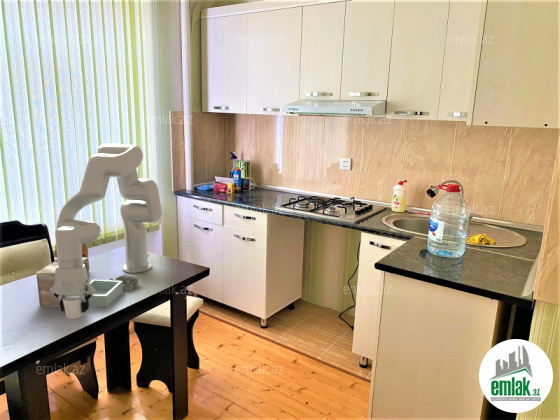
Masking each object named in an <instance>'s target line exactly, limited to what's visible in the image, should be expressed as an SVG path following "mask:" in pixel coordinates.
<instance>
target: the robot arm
mask: <svg viewBox="0 0 560 420" xmlns="http://www.w3.org/2000/svg"><path fill="white" fill-rule="evenodd" d="M143 155H144V154H143V150H142V148H140V147H139V146H138V145H135V144H121V143H103V144H101V145H100V146H98V148H97V154H93V155H91V156H90V157H89V158H88V162H87V164H86V168H85V172H84V174H83V175H84V176H83V179H82V182H81V185H80V189H79V190H78V192H77V193H76V194H74V195H73V196H71V198H69V200H68V201H67V202H66V203H65V204H64V205H63V206H62V209H61V210H60V212H59V216H58V219H57V223H56V228H55V232H54V237H55V244H56V249H57V258H54V261H53V262H57V263H58V266H57V267H56V270H55V285H54V286H53V287H51V288H50V291H51V292H52V293H53V294H54V296H55V297H57V298H58V301H60V307H59V308H60V311H61V312H62V313H63V312H65V308H64V303H63V297H64V296H80V298H81V299H82V302H81V307H82V313H84V314H85V313H86V312H87V311H88V310H89V308H90V307H89V301H88V299H89V298H90V297H91V296H92V295H93V294H94V293H95V292H96V289H95V288H93V287H92V286H91V285H90V284H89V280H88V274H87V270H86V267H85V265H84V264H83V259H82V247H81V246H82V244H86V245H87V244H90V243H93V242H95V241H97V239H99V238H100V236H101V232H102V231H101V227H100V225H99V224H98V223H96V222H94V221H91V220H79V219H75V218H76V216H77V215H78V213H79V212H80V211H81V210H82V209H83V208H85V207H87V206H89V205H92V204H94V203H96V202H99V201H101V200H103V199H104V198H105V196H106V193H107V190H108V185H109V182H110V178H116V180H117V185H118V190H119V193H120V196H121V197H122V199H124V200H126V201H123V203H122V204H121V206H120V216H121V220H122V223H123V225H122V226H123V233H124V236H123V237H124V253H125V264H124V265H123V266H122V270H123V272H125V273H130V274H131V273H133V274H137V273H144V272H147V271H149V270H151V269H152V267H153V265H152V263H151V262H149V257H150V255H149V253H148V251H149V249H148V237H147V236H148V233H147V231H148V230H147V228H146V226H145V223H147V224H155V223H158V222H159V221H160V220H161V218H162V212H163V210H162V205H161V203H162V202H161V198H160V192H159V187H158V184H157V183H156V182H155V180H153V179H151V178H140V177H139V175H138V170H137V168H138V167H140V166H141V164H142V162H143V159H144V156H143ZM88 290H89V291H90V293H89V294H88V293H87V291H88ZM83 294H84V295H83Z"/></svg>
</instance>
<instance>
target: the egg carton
mask: <svg viewBox="0 0 560 420" xmlns="http://www.w3.org/2000/svg"><path fill="white" fill-rule="evenodd" d="M108 280H114V281H123V290H124V292H128V291H129V292H130V291H133V289H134V288H138V287H139V280H140V277H134V276H129V275H127V274H122V275H120V276H118V277H115V279H113V278H110V277H109V278H108Z"/></svg>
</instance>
